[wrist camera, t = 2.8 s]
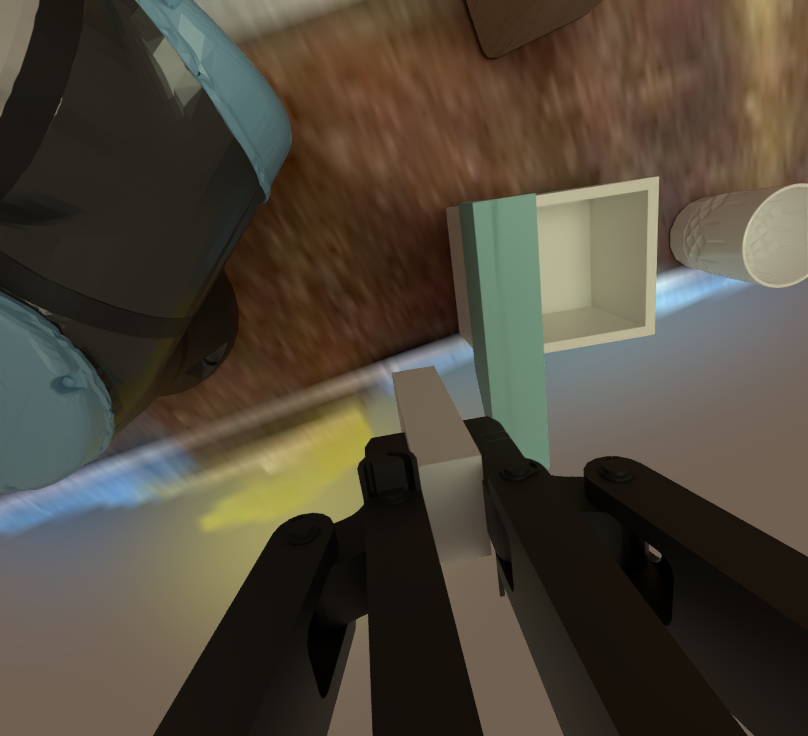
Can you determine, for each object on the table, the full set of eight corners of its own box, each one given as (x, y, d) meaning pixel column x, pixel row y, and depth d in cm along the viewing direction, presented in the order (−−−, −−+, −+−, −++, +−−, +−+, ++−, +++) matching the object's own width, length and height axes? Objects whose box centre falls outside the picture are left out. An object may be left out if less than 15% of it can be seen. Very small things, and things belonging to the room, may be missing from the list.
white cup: (670, 285, 47) (749, 302, 38) (655, 209, 45) (736, 207, 35) (743, 256, 47) (841, 265, 38) (733, 177, 45) (834, 167, 35)
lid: (507, 366, 37) (475, 370, 37) (493, 197, 33) (458, 203, 33) (550, 468, 23) (497, 473, 23) (535, 192, 19) (472, 202, 19)
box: (459, 333, 47) (486, 363, 37) (445, 208, 43) (471, 205, 33) (594, 310, 47) (654, 334, 38) (592, 185, 44) (658, 176, 34)
